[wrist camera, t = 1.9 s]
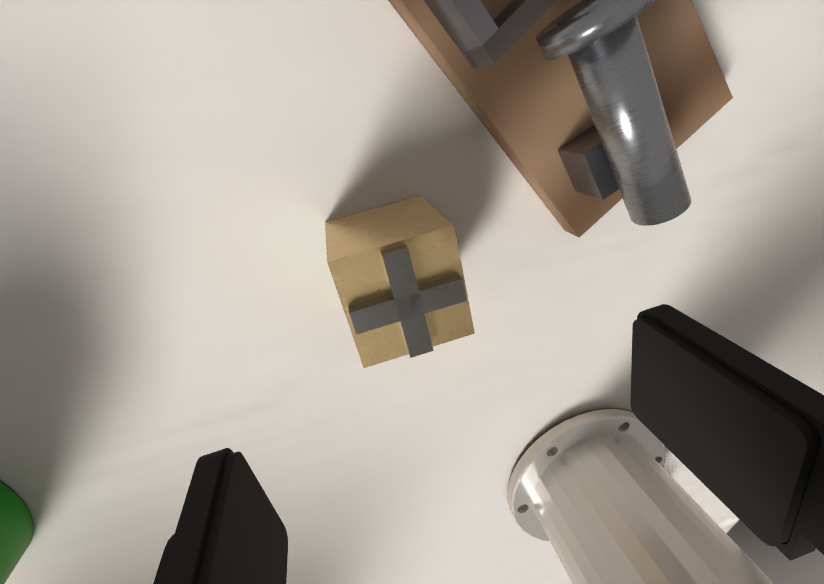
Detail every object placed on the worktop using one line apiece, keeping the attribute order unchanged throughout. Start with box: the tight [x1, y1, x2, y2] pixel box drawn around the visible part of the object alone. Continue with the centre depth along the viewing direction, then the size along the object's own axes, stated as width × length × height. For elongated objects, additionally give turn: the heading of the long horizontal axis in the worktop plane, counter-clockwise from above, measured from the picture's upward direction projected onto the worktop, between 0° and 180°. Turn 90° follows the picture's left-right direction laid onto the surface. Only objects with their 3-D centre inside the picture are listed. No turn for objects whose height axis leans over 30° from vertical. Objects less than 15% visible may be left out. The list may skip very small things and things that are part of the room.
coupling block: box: [325, 196, 474, 368], centre depth 19 cm, size 5×5×7 cm
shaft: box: [536, 0, 691, 225], centre depth 18 cm, size 9×4×7 cm, turn 33°
